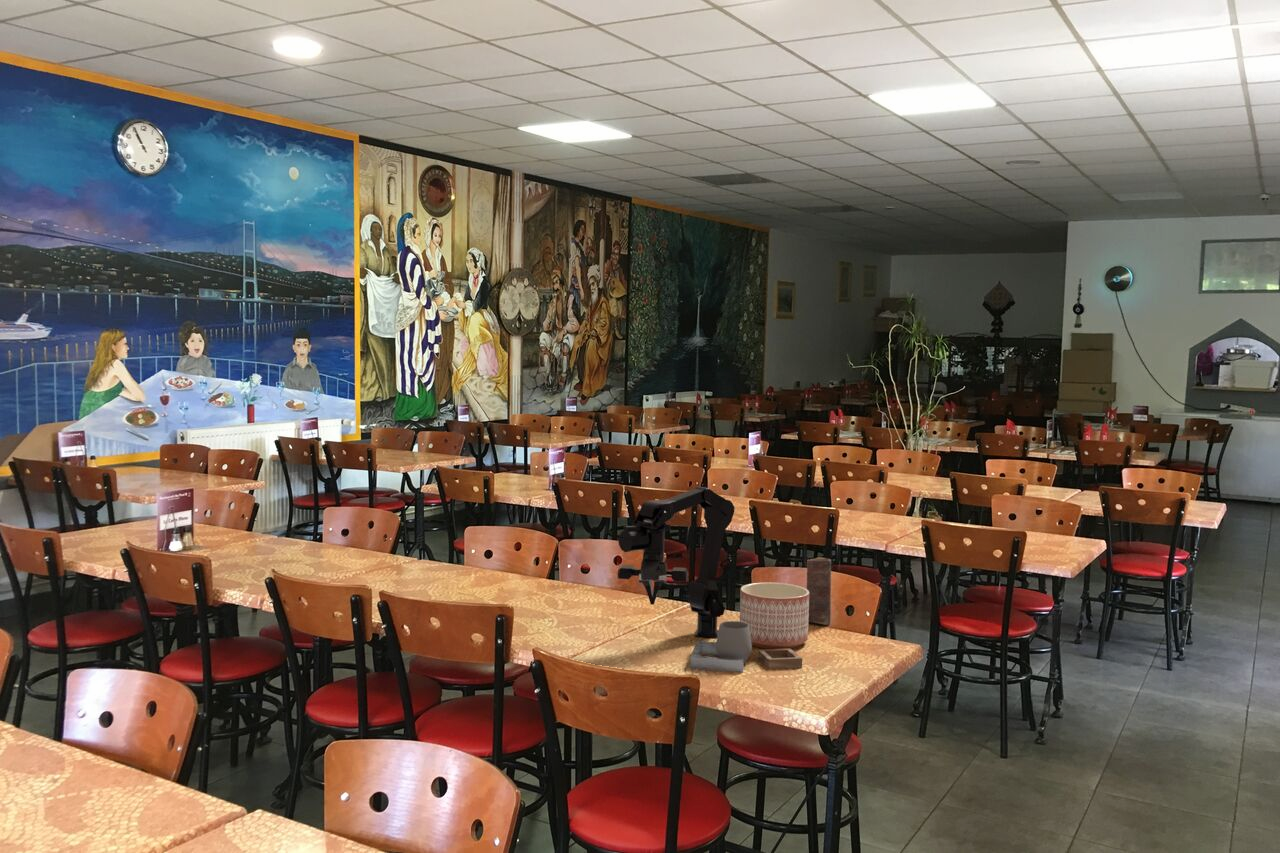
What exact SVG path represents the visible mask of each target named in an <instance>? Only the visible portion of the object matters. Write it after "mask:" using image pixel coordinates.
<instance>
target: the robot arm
mask: <svg viewBox="0 0 1280 853" xmlns="http://www.w3.org/2000/svg"><path fill="white" fill-rule="evenodd" d="M695 506H699V507H700V508H701V509H702V510H704V512H703V513H704V514H703V518H704V521H705V525H706V533H705V537H704V538H705V539H704V544H703V550H702V555H701V560H700V566H699V569H698V570H699V571H698V576H697V578H696V579H695V580H694V581H690V582H689V583H688V591H687V593H686V596H687V602H688V603H689V606H690V609H691V612H693V613H694V612H695V613H696V614H697V618H696V619H697V620H696V622H697V624H696V625H697V626H696V629H695V633H694V636H695V637H699V638H700V637H703V638H716V639H717V636H718V631H719V629H718V618H720V617H722V616H724V614H725V612H726V611H725V610H726V607H725V606H724V605H723V604H722V602H721V601H720V599H719V587H718V585H717V582H716V578H717V572H718V568H719V560H720V557H721V550H722V544H723V540H724V539H723V538H724V534H725V530H726V529H727V528H728V527H729V526H730V524H731V523H732V520H733V517H734V513H735V505H734V503H733V502H732V501H731V500H729V499H726V498H725V497H722V496H721V495H719V494H718V493H716V492H714V491H713V490H712V489H710V488H709V487H704V486H696V487H694V488H692V489H690V490H687V491H685V492H682V493H679V494H677V495H674V496H671V497H669V498H664V499H654V500H653V499H652V500H646V501H644V502H643V503H642V504H641V507H640V508H639V510H638V513H637V515H636V517H635V519H634V520H633V522H632V524H631V525H625V526H623V531H621V532H620V534H619V537H618V542H617V543H618V546H619V548H620V550H621V551H622V552H624V553H629V552H636V551H642V560H641V563H640V568H636V566H635V564H634V565H633V564H632V565H631V564H622V565H621V566H620V567H619V568H618V570H617V579H619V580H630V579H631V578H632V577H633V576H635V577H636V576H637V577H638V583H640V584H641V583H642V585H643V586H644V588H645V591H646V594H647V596H648V600H649V603H650V606H651V605H655V603H656V600H657V596H658V594H659V591H660V589H661V587H662V584H663V585H664V584H666V583H667V581H668V578H671V580H673V582H675V583H677V582H679V583H686V582H687V581H688V577H689V570H688V568H686V567H675V566H674V567H673V568H672V569H671V570H668V564H667V562H666V561H664V560H665V532H670V531H671V530H672V529H671V527H670V526H668V524H667V522H669V521H670V520H671V519H673V517H674V515H676V514H677V513H680V512H682V511H685V510H688V509H691V508H693V507H695ZM653 582H654V586H653Z"/></svg>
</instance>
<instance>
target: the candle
mask: <svg viewBox="0 0 1280 853" xmlns="http://www.w3.org/2000/svg"><path fill="white" fill-rule="evenodd" d="M806 567H807V568H806V589H807V590H808V591H809V618H808V622H811V623H814V624H820V625H825V626H830V625H831V621H832V620H831V618H832V617H831V615H832V614H831V612H832V608H831V607H832V605H831V604H832V603H831V602H832V601H831V600H832V599H831V598H832V595H831V593H832V592H831V590H832V585H831V584H832V559H830V558H825V557H819V556H818V557H816V558H811V559H807V560H806Z"/></svg>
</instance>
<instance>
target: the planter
mask: <svg viewBox="0 0 1280 853" xmlns="http://www.w3.org/2000/svg"><path fill="white" fill-rule="evenodd" d="M739 593H740V594H739V597H740V598H739V599H740V600H739V622H743V623H746V624H748V625H749V630H750V637H751V644H752V647H757V648H761V649H789V648H790V649H794V648H798V647H799V646H801V645H802V644H804V643H806V642H807V641H808V639H809V621H808V618H809V591H808V590H807V587H803V586H800V585H797V584H796V585H795V584H792V583H783V582H754V583H748V584H744V585H742V586H741V587H740V591H739Z"/></svg>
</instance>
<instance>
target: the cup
mask: <svg viewBox="0 0 1280 853" xmlns="http://www.w3.org/2000/svg"><path fill="white" fill-rule="evenodd" d="M718 630H719V631H718V636H717V638H716V641H715V642H716V651H717V653H718V655H717V656H718V657H720V658H734V659H744V664H745V663H747V661H748V658H749V656H750V655H751V653H752V651H753V645H752V644H751V637H750V630H749V625H748V624H746V623H743V622H740V621H738V620H737V621H735V620H729V621H728V620H727V621H723V622H720V623H719V627H718Z"/></svg>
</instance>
